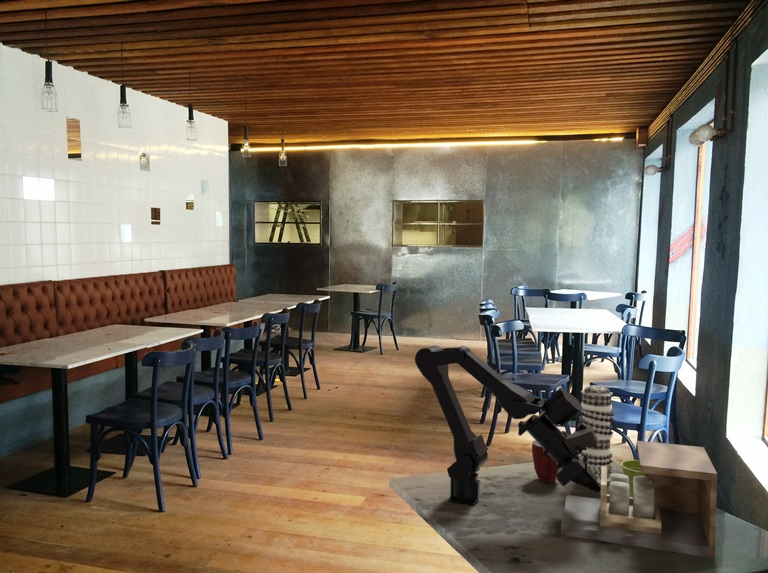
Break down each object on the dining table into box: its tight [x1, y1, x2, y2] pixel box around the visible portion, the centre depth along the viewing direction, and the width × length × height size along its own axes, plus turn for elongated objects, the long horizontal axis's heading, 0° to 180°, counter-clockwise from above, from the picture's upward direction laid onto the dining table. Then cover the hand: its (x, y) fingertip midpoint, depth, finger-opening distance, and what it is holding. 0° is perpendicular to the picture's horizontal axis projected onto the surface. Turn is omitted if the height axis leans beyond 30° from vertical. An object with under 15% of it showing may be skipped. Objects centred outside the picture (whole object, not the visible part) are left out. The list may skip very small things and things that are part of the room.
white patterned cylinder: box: [578, 384, 615, 484], centre depth 169 cm, size 9×9×25 cm
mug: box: [531, 439, 559, 484], centre depth 165 cm, size 10×8×10 cm
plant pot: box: [620, 459, 645, 497], centre depth 153 cm, size 9×9×9 cm
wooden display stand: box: [560, 440, 718, 559], centre depth 137 cm, size 30×19×17 cm, turn 70°
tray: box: [600, 466, 661, 534], centre depth 137 cm, size 12×13×9 cm
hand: (599, 490), depth 139 cm, fingers closed, pressing on tray
